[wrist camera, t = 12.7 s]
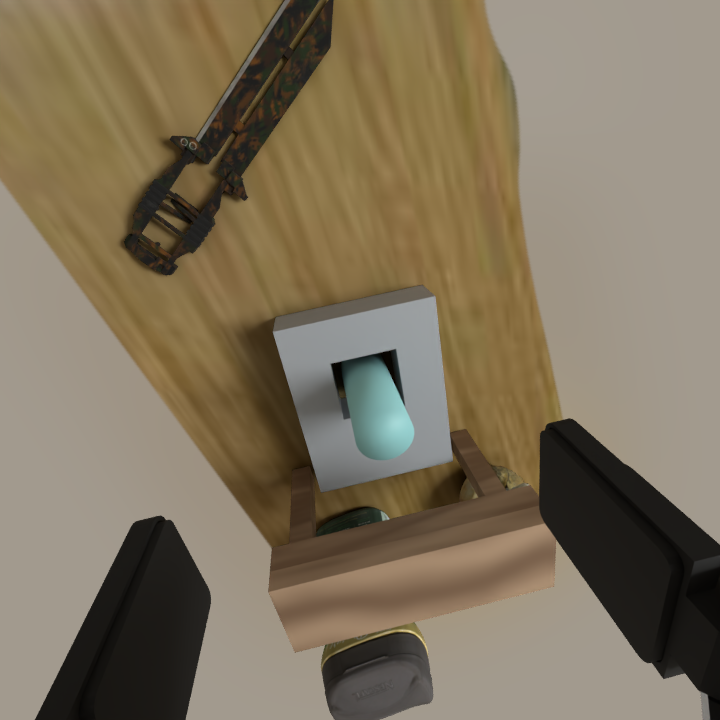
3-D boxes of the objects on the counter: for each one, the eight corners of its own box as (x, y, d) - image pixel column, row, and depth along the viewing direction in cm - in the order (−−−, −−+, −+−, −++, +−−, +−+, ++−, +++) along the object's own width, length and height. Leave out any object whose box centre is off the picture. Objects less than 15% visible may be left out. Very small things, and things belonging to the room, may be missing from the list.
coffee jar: (331, 565, 51) (344, 754, 34) (306, 524, 48) (308, 711, 31) (401, 538, 51) (450, 716, 34) (381, 496, 47) (425, 669, 30)
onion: (442, 471, 47) (467, 523, 40) (504, 443, 46) (542, 491, 39) (461, 512, 50) (487, 568, 43) (520, 487, 50) (556, 539, 42)
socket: (275, 317, 37) (272, 332, 33) (422, 284, 37) (435, 296, 34) (319, 467, 44) (321, 492, 41) (440, 438, 45) (452, 461, 41)
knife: (321, -45, 27) (322, -56, 26) (384, 42, 30) (388, 35, 28) (106, 226, 32) (98, 228, 31) (175, 282, 35) (170, 285, 33)
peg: (336, 352, 39) (349, 418, 28) (380, 342, 39) (410, 404, 28) (345, 390, 41) (361, 466, 30) (387, 380, 41) (417, 452, 30)
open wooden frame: (281, 437, 42) (268, 591, 26) (463, 395, 43) (556, 520, 27) (297, 487, 45) (294, 652, 29) (467, 446, 46) (554, 586, 30)
